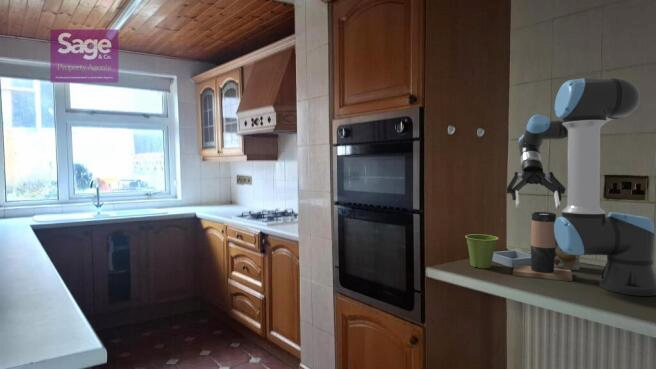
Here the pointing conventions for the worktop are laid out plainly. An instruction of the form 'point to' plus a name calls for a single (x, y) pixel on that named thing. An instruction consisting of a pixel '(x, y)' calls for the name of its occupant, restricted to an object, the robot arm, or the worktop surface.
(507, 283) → the worktop surface
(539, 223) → the travel mug
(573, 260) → the coffee box
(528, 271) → the walnut board
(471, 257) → the plant pot
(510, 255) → the holder frame
